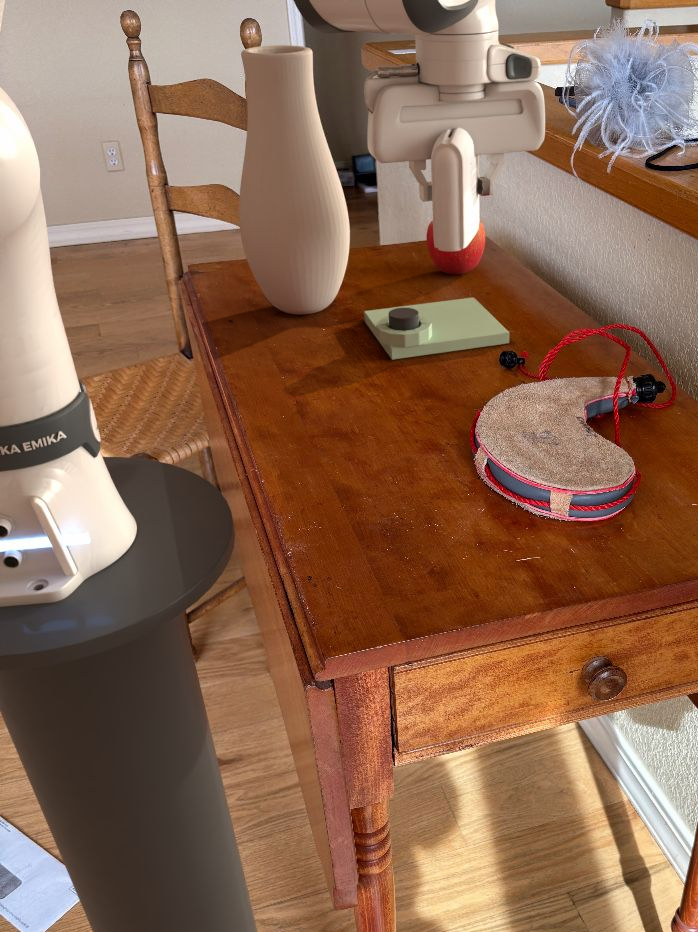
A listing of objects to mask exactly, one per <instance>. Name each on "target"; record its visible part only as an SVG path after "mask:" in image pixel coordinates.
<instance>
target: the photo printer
mask: <svg viewBox="0 0 698 932" xmlns="http://www.w3.org/2000/svg"><path fill="white" fill-rule="evenodd" d="M430 168H431V169H430V170H431V172H430V175H431V182H432V201H431V203H432V204H431V205H432V221H433V235H434V245H435V248H438V250H441V251H450V252H453V251H460V250H461V249H464V248H466V247H467V246H468V245H469V243H470V242H471V240H472V239H473V238H474V236H475V235H476V233H477V231H478V229H479V220H480V195H479V194H478V177H480V155H474V144H473V141H472V139H471V137H470V135H469V134H468V133H467V132H466V131H465V130H464V129H461V128H455V129H454V131H453V133H452V132H451V130H449V129H447V130H446V131H444V132H443V133H442V134H440V136H439V137H438V138H437V140H436V142H435V144H434V146H433V150H432V154H431V159H430Z"/></svg>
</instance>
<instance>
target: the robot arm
mask: <svg viewBox="0 0 698 932" xmlns="http://www.w3.org/2000/svg"><path fill="white" fill-rule="evenodd" d="M292 1H293V3H294V5H295V7H296V9H297V11H298V12H299V14H300V15H301V17H302V18H303V19H304V20H305V22H307V24H308V25H309V26H310V27H312V28H313V29H314V30H316V31H318V32H321V33H322V34H323V33H324V34H341V33H342V34H343V33H345V34H346V33H356V32H358V33H371V34H383V35H406V36H415V37H414V38H415V39H414V40H415V41H414V42H415V63H408V64H407V63H405V64H399V65H391V66H390V65H380V66H377V67H376V68H375V69H376V70H373V71H372V72H370V73H369V74H368V76H367V77H366V79H365V81H364V85H363V91H364V92H363V93H364V104H365V107H366V109H367V110H368V116H367V132H366V133H367V138H366V139H367V150H368V153H369V154H370V155H371V157H373V159H375V161H376V162H379V163H380V164H392V163H403V162H408V168H409V169H410V172H411V174H412V175H413V176H414V178H415V180H416V182H417V183H418V196H419V199H420V201H421V202H423V203H424V202H426V203H427V202H432V181H427V179H426V177H425V175H424V173H423V172H422V171H426V169H427V160H431V154H432V150H433V146H434V144H435V142H436V140H437V138H438V137H439V136H440V134H442V133H443V132H444V131H446V130H447V129H449V130H451V132H452V133H453V131H454V129H455V128H461V129H464V130H465V131H466V132H467V133H468V134H469V135H470V137H471V139H472V141H473V144H474V155H479V156H485V155H486V160H487V161H488V162H489V163H488V166H487V169H486V171H485V172H484V175H483V176H479V177H478V194H479V197H480V196H481V197H486V196H487V197H488V196H494V194H495V180H496V179H497V177H498V176H499V173H500V172H501V170H502V168H503V166H504V164H505V154H510V153H520V152H533V151H538V150H539V149H540V147H541V146H542V144H543V143H544V141H545V136H546V107H545V106H546V105H545V104H546V103H545V95H544V91H543V89H542V87H541V85H540V84H539V83H538V82H537V81H535V80H537V79H538V78H539V77H540V75H541V69H542V68H541V65H542V64H541V59H539V58H538V57H537V56H535V55H533V54H530V53H528V52H526V51H522V50H521V49H520V50H519V49H517V48H515V47H514V46H513V45H510V44H508V43H503V42H502V43H500V41H499V21H498V16H497V9H496V0H292ZM5 4H6V0H0V32H1V31H2V22H3V17H4V10H5ZM375 76H376V77H375ZM54 283H55V282H54V277H53V269H52V262H51V250H50V241H49V233H48V226H47V218H46V212H45V206H44V201H43V194H42V187H41V167H40V160H39V156H38V152H37V148H36V145H35V141H34V139H33V137H32V133H31V131H30V128H29V127H28V124H27V123H26V120H25V119H24V117H23V115H22V114H21V112H20V110H19V109H18V107H17V105H16V103H15V102H14V101H13V100H12V98H11V97H10V96H9V94H8V93H7V92H6V91H5V90H4V89H3V88H2V87H1V86H0V607H4V606H16V605H28V604H41V603H52V602H57V601H60V600H62V599H64V598H66V597H67V596H69V595H70V594H71V593H72V592H73V591H74V590H75V589H76V588H77V587H78V586H79V585H80V584H81V583H82V582H83V581H84V580H85V579H87V578H88V577H90V576H92V575H93V574H95V573H97V572H99V571H100V570H102V569H104V568H106V567H107V566H109V565H110V564H112V563H113V562H115V561H116V560H117V559H118V558H120V557H121V556H122V555H123V554H124V553H125V552H126V551H127V550H128V549H129V547H130V546H131V544H132V543H133V541H134V539H135V536H136V533H137V525H136V521H135V519H134V517H133V516H132V514H131V513H130V512H129V510H128V509H127V507H126V505H125V504H124V502H123V500H122V499H121V497H120V495H119V493H118V491H117V489H116V487H115V485H114V483H113V481H112V479H111V477H110V474H109V472H108V470H107V467H106V465H105V462H104V460H103V457H104V456H103V455H102V452H101V445H102V444H101V441H102V440H101V434H100V429H99V425H98V421H97V417H96V414H95V410H94V406H93V403H92V399H91V397H89V395H88V391H87V388H86V385H85V383H84V382H83V381H82V379H79V377H78V374H77V371H76V367H75V363H74V360H73V356H72V352H71V348H70V344H69V340H68V337H67V333H66V328H65V325H64V322H63V318H62V314H61V310H60V307H59V303H58V298H57V294H56V289H55V284H54Z"/></svg>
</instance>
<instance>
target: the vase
mask: <svg viewBox="0 0 698 932" xmlns="http://www.w3.org/2000/svg"><path fill="white" fill-rule="evenodd" d="M313 53H314V52H313V50H312V49H311V48H310V47H307V46H303V45H293V44H291V45H289V44H288V45H287V44H282V45H281V44H279V45H277V44H276V45H275V44H274V45H261V46H260V45H259V46H254V47H248V48H245V49H243V50H242V51H241V53H240V56H241V60H242V61H241V62H242V67H243V72H244V78H245V86H246V96H247V97H246V98H247V124H246V125H247V127H246V137H245V149H244V157H243V161H242V162H243V163H242V169H241V177H240V187H239V201H238V222H239V232H240V239H241V243H242V248H243V252H244V255H245V258H246V261H247V263H248V267H249V269H250V271H251V273H252V275H253V278H254V279H255V281H256V284H257V286H259V289H260V290H261V292H262V293H263V295H264V297H265V298H266V299H267V300H268V301H269V303H270V304H271V305H272V306H274V307H275V308H277V309H278V310H279V311H281V312H284V313H286V314H291V315H298V316H299V315H300V316H301V315H311V314H315V313H318V312H322V311H323V310H324V309H326V308H328V307H329V306H330V305H331V304H332V303H333V302H334V300H335V299H336V297H337V295H338V293H339V291H340V288H341V286H342V283H343V280H344V277H345V274H346V270H347V267H348V262H349V255H350V254H349V253H350V243H351V228H350V219H349V211H348V206H347V201H346V198H345V194H344V190H343V187H342V183H341V180H340V177H339V174H338V171H337V168H336V165H335V162H334V159H333V157H332V153H331V150H330V148H329V144H328V142H327V141H328V140H327V138H326V135H325V131H324V129H323V126H322V121H321V118H320V113H319V110H318V104H317V98H316V90H315V84H314V83H315V82H314V55H313Z"/></svg>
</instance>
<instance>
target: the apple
mask: <svg viewBox="0 0 698 932" xmlns="http://www.w3.org/2000/svg"><path fill="white" fill-rule="evenodd" d="M485 232H486V231H485V226H484V224H483V222H482V221H481V220H480V219H479V229H478V231H477V233H476V235H475V236H474V238H473V239H472V240H471V242H470V243H469V245H468V246H467V247H466V248H464V249H461V250H460V251H453V252H450V251H441V250H438V248H435V245H434V235H433V220H431V221H430V222H429V224H428V226H427V229H426V247H427V251H428V254H429V256H430V259H431V260H432V262H433V264H434V265H435V267H436V268H437V269H438V270H439V271H441V272H443V273H444V274H447V275H454V276H455V275H457V276H459V275H464V274H466V273H469V272H471V271H472V270H474V269H475V268H476V267H477V265H478V264H479V263H480V261H481V259H482V257H483V253H484V251H485V247H486V233H485Z"/></svg>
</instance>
